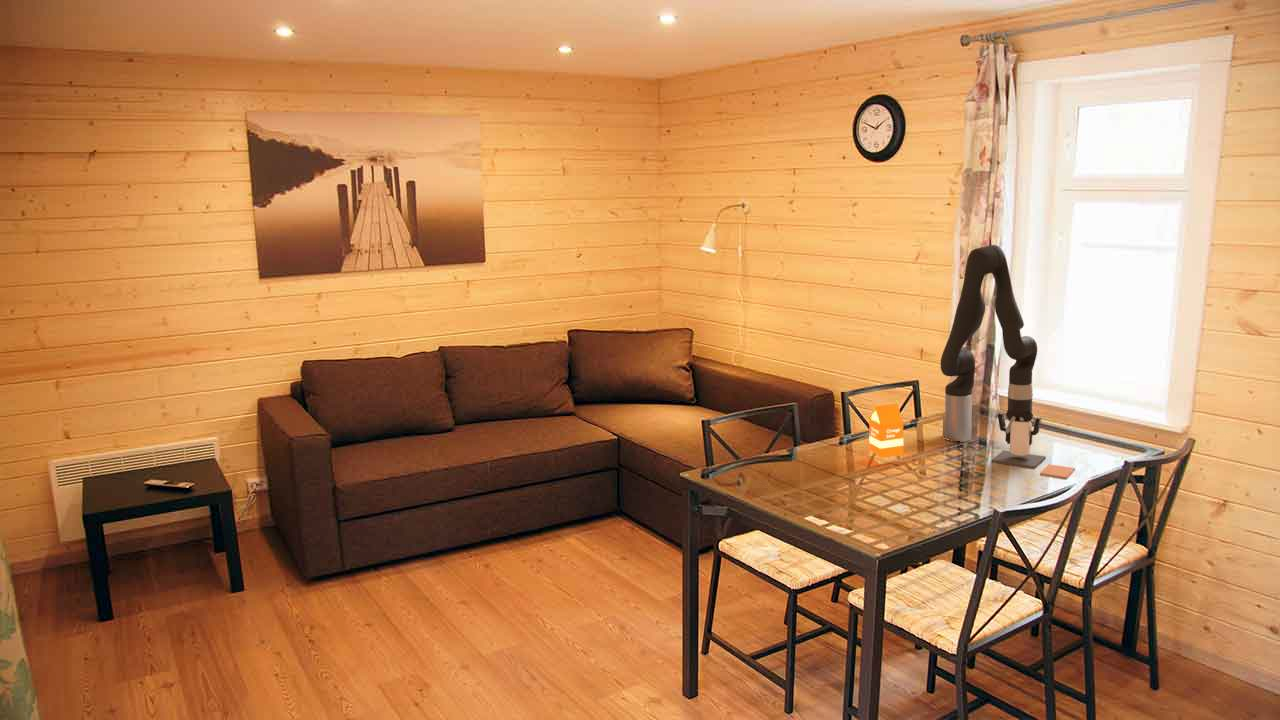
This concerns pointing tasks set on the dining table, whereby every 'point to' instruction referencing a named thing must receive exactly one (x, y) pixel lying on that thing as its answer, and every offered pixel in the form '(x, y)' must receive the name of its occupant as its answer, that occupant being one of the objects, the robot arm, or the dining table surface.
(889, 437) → the orange juice
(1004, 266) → the robot arm
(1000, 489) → the dining table surface
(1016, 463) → the mat
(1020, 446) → the can
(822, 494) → the dining table surface
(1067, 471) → the tile
